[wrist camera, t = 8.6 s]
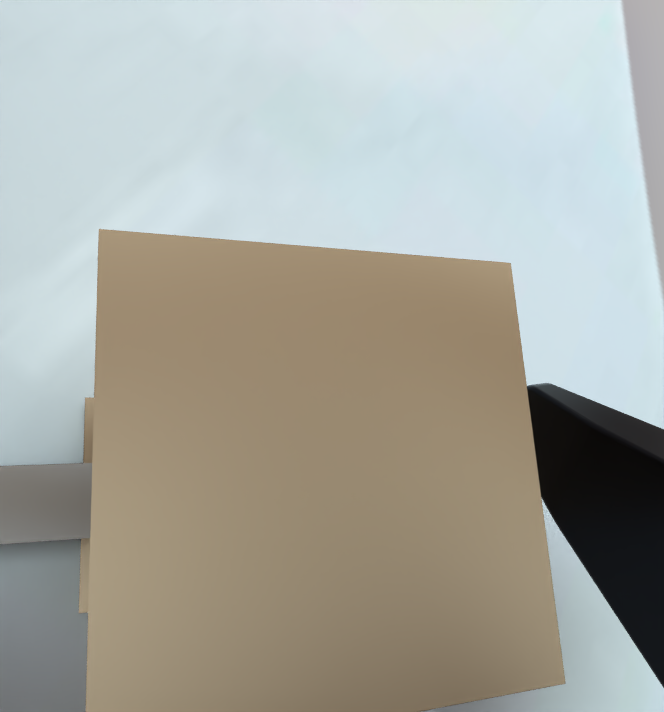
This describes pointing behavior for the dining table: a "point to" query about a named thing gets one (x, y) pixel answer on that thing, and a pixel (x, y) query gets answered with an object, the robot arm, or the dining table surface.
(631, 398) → the dining table surface
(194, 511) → the blade tool
